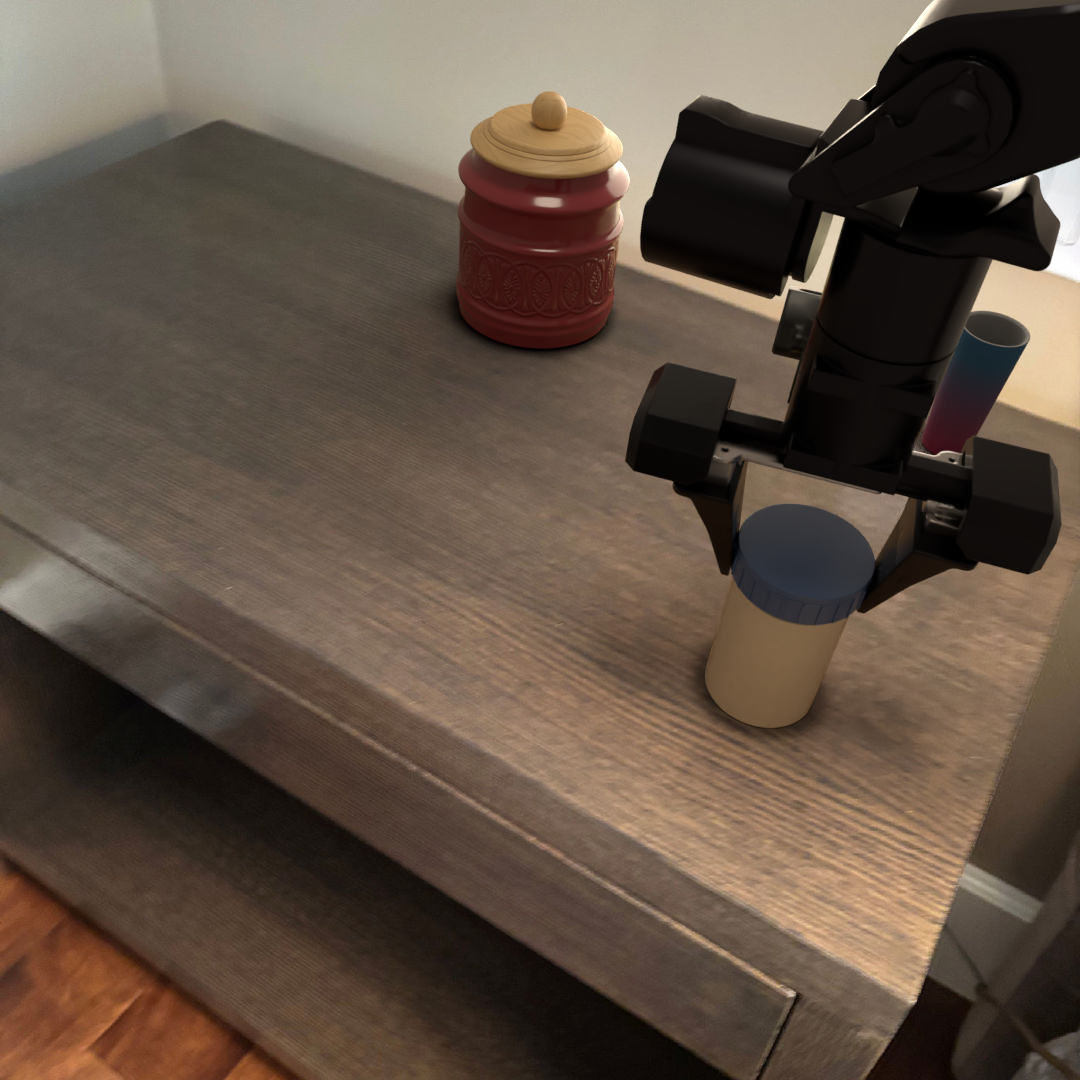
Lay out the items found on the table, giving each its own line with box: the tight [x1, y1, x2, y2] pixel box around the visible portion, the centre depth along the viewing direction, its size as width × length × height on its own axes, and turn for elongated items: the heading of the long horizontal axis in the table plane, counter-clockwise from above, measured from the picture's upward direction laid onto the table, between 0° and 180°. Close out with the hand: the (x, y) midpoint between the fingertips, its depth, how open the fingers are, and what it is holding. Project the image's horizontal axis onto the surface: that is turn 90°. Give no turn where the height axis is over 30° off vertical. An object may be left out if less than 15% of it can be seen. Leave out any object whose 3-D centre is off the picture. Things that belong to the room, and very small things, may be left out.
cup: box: [921, 310, 1031, 455], centre depth 72 cm, size 4×4×10 cm
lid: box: [730, 502, 876, 625], centre depth 51 cm, size 7×7×2 cm
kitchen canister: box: [455, 90, 631, 349], centre depth 79 cm, size 13×13×18 cm
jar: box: [704, 575, 850, 729], centre depth 55 cm, size 6×6×10 cm
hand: (793, 588), depth 53 cm, fingers closed on lid, 7 cm apart
